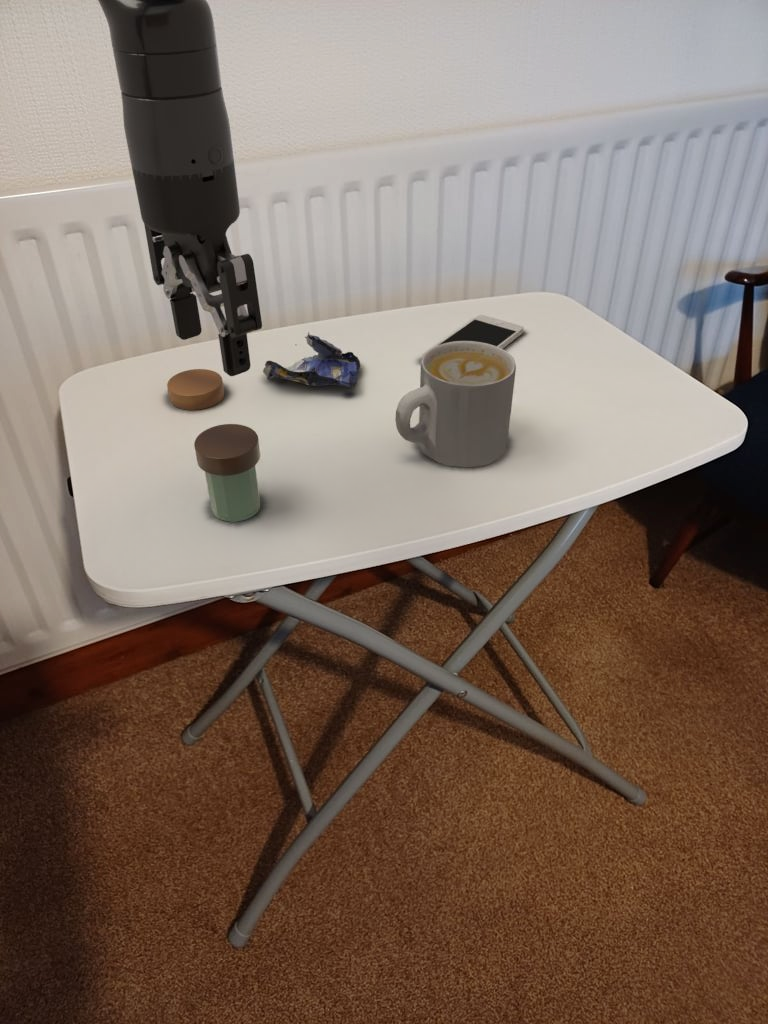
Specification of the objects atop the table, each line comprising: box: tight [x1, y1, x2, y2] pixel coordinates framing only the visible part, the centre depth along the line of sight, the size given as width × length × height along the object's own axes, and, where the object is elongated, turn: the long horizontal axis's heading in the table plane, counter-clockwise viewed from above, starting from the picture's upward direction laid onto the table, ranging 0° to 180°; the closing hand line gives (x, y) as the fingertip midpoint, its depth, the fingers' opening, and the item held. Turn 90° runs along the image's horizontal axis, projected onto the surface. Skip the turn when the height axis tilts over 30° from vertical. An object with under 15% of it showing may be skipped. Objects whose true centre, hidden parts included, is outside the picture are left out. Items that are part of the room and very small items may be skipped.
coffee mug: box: [395, 341, 517, 468], centre depth 85 cm, size 13×10×10 cm
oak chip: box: [166, 368, 225, 411], centre depth 96 cm, size 7×7×2 cm
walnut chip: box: [193, 423, 261, 476], centre depth 75 cm, size 6×6×2 cm
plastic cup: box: [204, 464, 261, 523], centre depth 77 cm, size 5×5×6 cm
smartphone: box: [422, 314, 525, 356], centre depth 106 cm, size 7×15×1 cm, turn 145°
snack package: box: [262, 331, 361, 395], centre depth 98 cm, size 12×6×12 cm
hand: (212, 353), depth 69 cm, fingers open, 8 cm apart
